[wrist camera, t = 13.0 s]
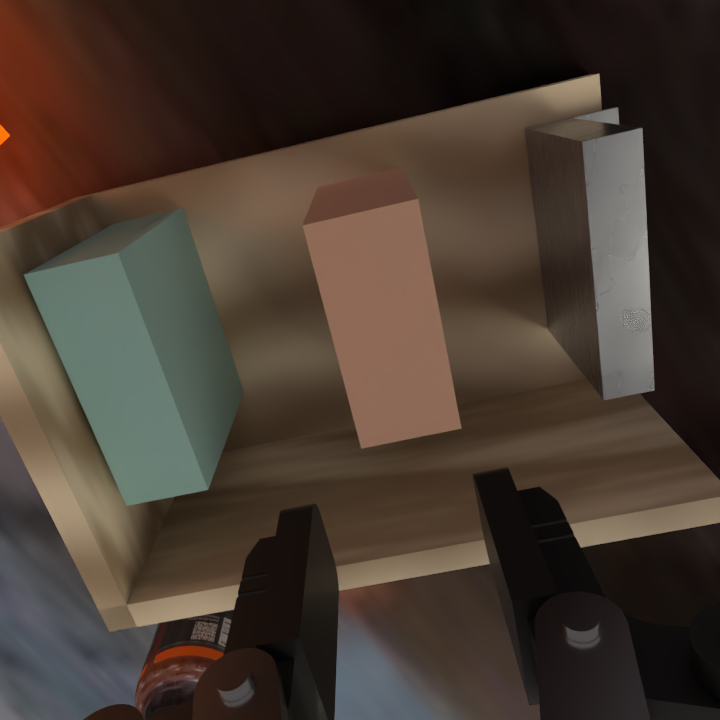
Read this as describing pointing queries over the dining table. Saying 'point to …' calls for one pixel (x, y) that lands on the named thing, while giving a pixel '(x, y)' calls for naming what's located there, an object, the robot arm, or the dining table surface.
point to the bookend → (595, 246)
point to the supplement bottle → (180, 660)
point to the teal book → (143, 352)
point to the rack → (325, 382)
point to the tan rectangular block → (382, 307)
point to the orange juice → (3, 135)
